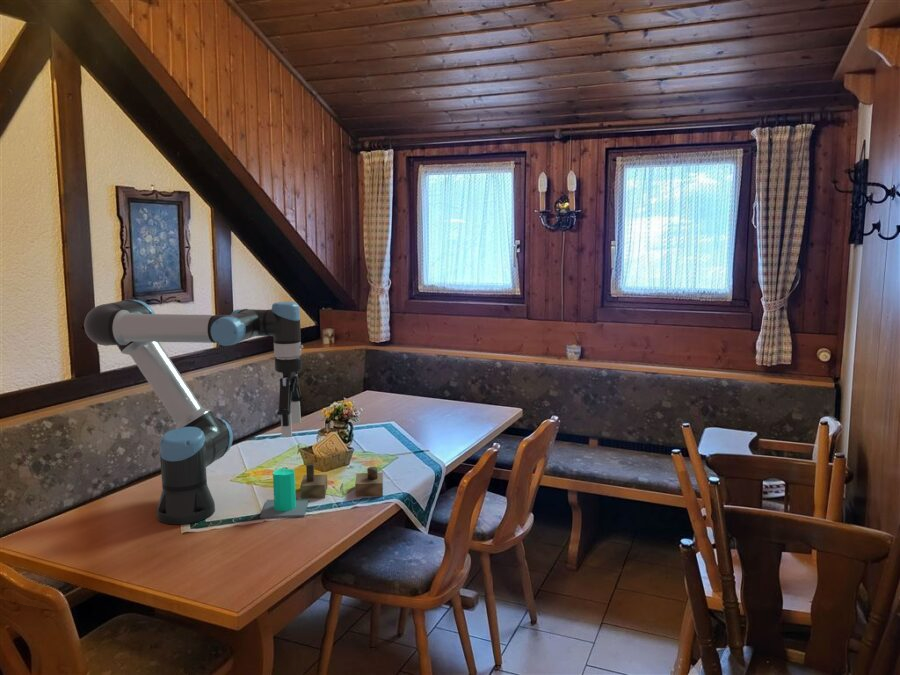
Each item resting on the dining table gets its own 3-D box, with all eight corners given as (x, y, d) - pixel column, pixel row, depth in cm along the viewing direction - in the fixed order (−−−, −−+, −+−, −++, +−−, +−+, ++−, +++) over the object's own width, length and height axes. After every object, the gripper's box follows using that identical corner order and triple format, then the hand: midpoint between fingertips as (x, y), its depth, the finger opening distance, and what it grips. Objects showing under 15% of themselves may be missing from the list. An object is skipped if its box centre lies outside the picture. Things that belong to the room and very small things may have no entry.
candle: (290, 512, 201) (289, 470, 199) (270, 510, 202) (269, 469, 200) (299, 503, 207) (297, 463, 205) (279, 502, 208) (278, 462, 206)
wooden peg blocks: (300, 498, 212) (299, 469, 211) (304, 487, 221) (303, 459, 219) (382, 496, 214) (382, 467, 213) (382, 485, 223) (382, 457, 222)
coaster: (260, 518, 198) (260, 516, 198) (267, 501, 210) (267, 499, 210) (304, 516, 199) (304, 514, 199) (308, 500, 211) (308, 498, 211)
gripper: (293, 365, 191) (296, 442, 194) (308, 349, 216) (311, 417, 219) (264, 365, 191) (268, 443, 194) (283, 349, 216) (287, 418, 219)
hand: (291, 429), depth 207 cm, fingers open, 13 cm apart
